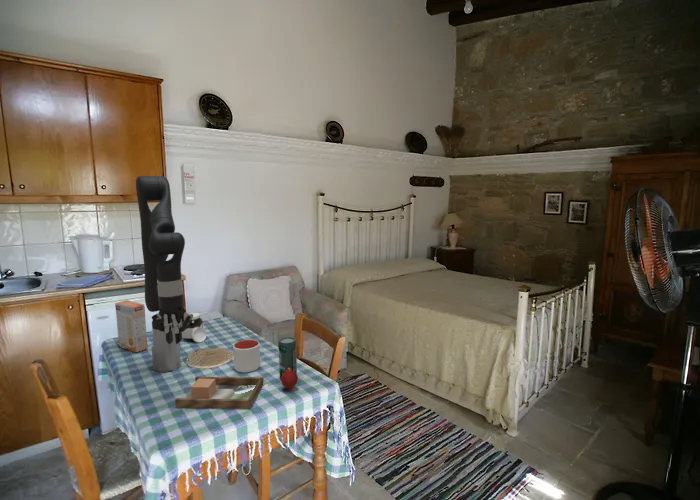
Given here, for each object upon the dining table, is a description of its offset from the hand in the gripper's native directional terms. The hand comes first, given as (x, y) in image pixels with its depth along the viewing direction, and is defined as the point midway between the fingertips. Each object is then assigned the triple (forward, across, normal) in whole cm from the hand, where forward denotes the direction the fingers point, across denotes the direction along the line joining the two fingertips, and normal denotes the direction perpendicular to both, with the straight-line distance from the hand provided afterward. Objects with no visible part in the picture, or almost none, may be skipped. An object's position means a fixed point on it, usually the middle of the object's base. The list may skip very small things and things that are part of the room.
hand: (174, 342), depth 130 cm
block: (+19, +9, 0) cm, 21 cm away
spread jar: (+19, -16, +52) cm, 57 cm away
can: (+19, +36, +14) cm, 43 cm away
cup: (+19, +18, +22) cm, 34 cm away
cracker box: (+19, -40, +40) cm, 60 cm away
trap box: (+19, +15, 0) cm, 24 cm away
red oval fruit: (+19, +38, +6) cm, 43 cm away
